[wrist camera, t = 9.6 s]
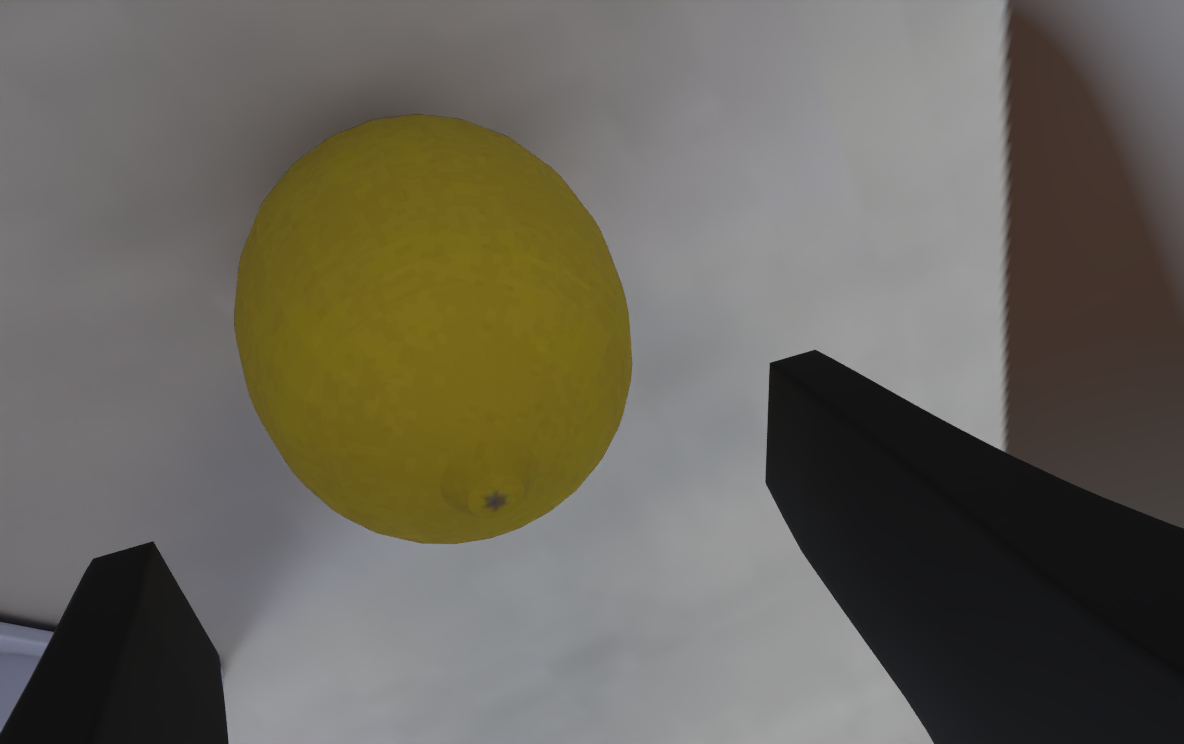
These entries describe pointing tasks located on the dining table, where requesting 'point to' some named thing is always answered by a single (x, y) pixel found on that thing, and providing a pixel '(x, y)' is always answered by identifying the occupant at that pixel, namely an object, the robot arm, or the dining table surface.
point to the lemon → (432, 329)
